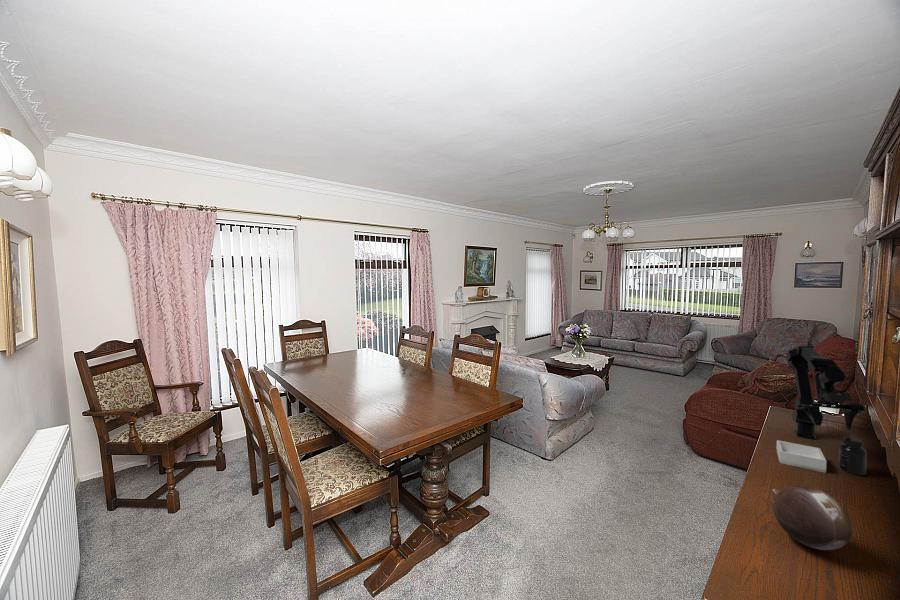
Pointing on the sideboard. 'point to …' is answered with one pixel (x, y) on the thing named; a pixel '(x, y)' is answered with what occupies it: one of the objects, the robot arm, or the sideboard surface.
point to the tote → (801, 456)
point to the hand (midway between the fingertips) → (832, 427)
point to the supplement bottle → (852, 456)
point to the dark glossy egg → (812, 517)
